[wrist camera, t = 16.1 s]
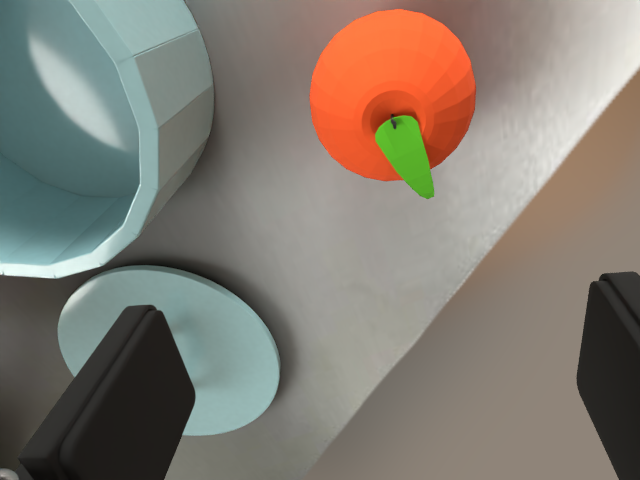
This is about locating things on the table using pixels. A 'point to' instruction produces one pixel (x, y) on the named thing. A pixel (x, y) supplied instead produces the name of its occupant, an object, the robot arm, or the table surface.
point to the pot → (94, 126)
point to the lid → (184, 339)
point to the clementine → (393, 97)
